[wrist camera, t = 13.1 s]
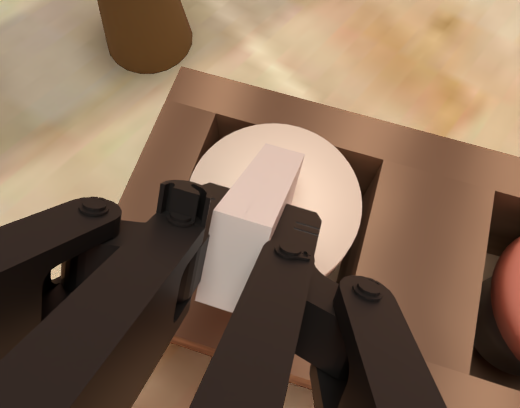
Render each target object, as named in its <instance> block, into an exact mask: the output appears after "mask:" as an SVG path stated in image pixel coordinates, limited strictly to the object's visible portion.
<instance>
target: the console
mask: <svg viewBox="0 0 520 408" xmlns="http://www.w3.org/2000/svg"><path fill="white" fill-rule="evenodd" d="M271 123H278V124H288V125H292V126H297V127H300V128H303V129H306V130H309V131H311V132H313V133H315V134H317V135H319V136H321V137H322V138H324V139H325V140H327V141H328V142H330V143H331V144H332V145H333V146H334V147H336V148H337V149H338V150H339V151H340V153H341V154H342V155H343V156H344V157H345V158H346V160H347V161H348V162H349V164H350V166H351V167H352V169H353V171H354V173H355V175H356V178H357V180H358V183H359V187H360V191H361V198H362V216H361V222H360V226H359V229H358V232H357V235H356V237H355V239H354V241H353V243H352V245H351V247H350V248H349V250H348V251H347V253H346V254H345V256H344V257H343V259H342V260H341V262H340V263H339V265H338V266H337V268H336V269H335V270H334V271H333V272H332V273H331V274H330V275H329V276H328V277H327V278H329V279H331V280H332V281H334V282H336V283H338V284H339V282H340V281H341V280H342V279H343V278H344V277H346V276H350V275H356V276H363V277H369V278H372V279H374V280H375V281H378V282H380V283H381V284H383V285H384V286H385V287H386V288H388V289H389V290H390V291H391V293H392V294H393V295H394V297H395V298H396V301H397V303H398V305H399V307H400V309H401V311H402V313H403V315H404V318H405V320H406V322H407V324H408V326H409V328H410V330H411V332H412V334H413V337H414V339H415V341H416V343H417V345H418V347H419V349H420V351H421V353H422V356H423V358H424V360H425V362H426V364H427V366H428V368H429V370H430V373H431V375H432V377H433V379H434V381H435V383H436V385H437V387H438V389H439V392H440V394H441V396H442V398H443V400H444V402H445V404H446V406H447V408H520V376H517V375H512V374H509V373H506V372H503V371H501V370H499V369H498V368H496V367H494V366H493V365H491V364H490V363H489V362H488V361H486V360H485V359H484V358H483V357H482V356H481V355H480V353H479V352H478V351H477V349H476V348H475V347H474V345H473V344H474V337H475V330H476V323H477V316H478V309H479V301H480V294H481V287H482V282H483V281H484V280H486V279H488V278H490V277H492V275H493V271H494V268H495V266H496V263H497V261H498V259H499V257H500V255H501V254H502V253H503V251H504V250H505V249H506V247H507V246H508V245H509V244H511V243H512V242H513V241H514V240H515V239H517V238H518V237H520V157H517V156H513V155H509V154H505V153H502V152H498V151H494V150H491V149H487V148H483V147H479V146H476V145H472V144H468V143H465V142H461V141H457V140H453V139H450V138H446V137H442V136H438V135H435V134H431V133H427V132H424V131H420V130H416V129H412V128H409V127H405V126H401V125H397V124H394V123H390V122H386V121H383V120H379V119H375V118H371V117H368V116H364V115H360V114H357V113H353V112H349V111H345V110H342V109H338V108H334V107H330V106H327V105H323V104H319V103H316V102H312V101H308V100H304V99H301V98H297V97H293V96H289V95H286V94H282V93H278V92H275V91H271V90H267V89H263V88H260V87H256V86H252V85H249V84H245V83H241V82H237V81H234V80H230V79H226V78H222V77H219V76H215V75H211V74H208V73H204V72H200V71H196V70H193V69H189V68H185V67H181V68H180V70H179V73H178V75H177V77H176V79H175V81H174V83H173V86H172V88H171V90H170V92H169V94H168V97H167V99H166V101H165V103H164V105H163V107H162V110H161V112H160V114H159V116H158V118H157V120H156V123H155V125H154V127H153V129H152V131H151V134H150V136H149V138H148V140H147V142H146V144H145V147H144V149H143V151H142V153H141V155H140V157H139V160H138V162H137V164H136V166H135V168H134V171H133V173H132V175H131V177H130V179H129V181H128V184H127V186H126V188H125V190H124V192H123V195H122V197H121V199H120V201H119V203H118V205H119V206H120V208H121V210H122V215H121V220H126V221H134V222H147V221H148V220H149V219H150V218H151V217H152V216H153V215H154V214H155V213H156V210H157V203H158V196H159V189H160V183H163V182H165V181H168V180H186V181H190V178H191V175H192V173H193V171H194V169H195V167H196V165H197V164H198V162H199V161H200V159H201V158H202V156H203V155H204V154H205V153H206V152H207V151H208V150H209V149H210V148H211V147H212V146H213V145H214V144H215V143H216V142H218V141H219V140H221V139H222V138H224V137H225V136H227V135H229V134H231V133H233V132H235V131H237V130H240V129H242V128H245V127H249V126H253V125H259V124H271ZM197 288H198V286H197ZM197 288H196V289H195V291H194V293H193V294H192V298H191V303H190V307H189V311H188V313H187V315H186V316H185V318H184V320H183V321H182V323H181V325H180V327H179V328H178V330H177V332H176V333H175V335H174V337H173V338H172V340H171V342H170V343H173V344H176V345H179V346H182V347H185V348H188V349H191V350H194V351H197V352H200V353H203V354H206V355H209V356H212V357H213V355H214V353H215V350H216V348H217V346H218V344H219V342H220V339H221V337H222V335H223V333H224V331H225V328H226V326H227V324H228V322H229V320H230V317H231V315H232V312H229V311H226V310H222V309H219V308H216V307H213V306H210V305H207V304H204V303H201V302H198V301H195V298H196V293H197ZM310 365H311V363H309V362H307V361H306V360H304V359H302V358H301V357H299V356H297V355H296V354H295V355H294V359H293V364H292V368H291V373H290V378H289V382H290V383H293V384H296V385H299V386H302V387H305V388H308V389H311V390H312V387H311V381H310V375H309V372H310Z"/></svg>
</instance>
